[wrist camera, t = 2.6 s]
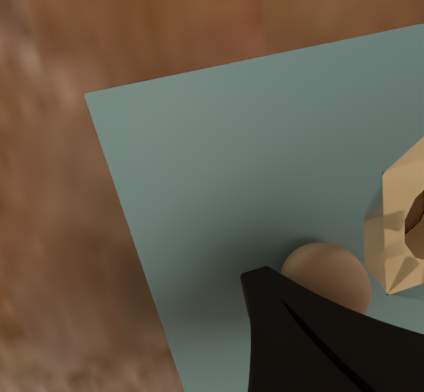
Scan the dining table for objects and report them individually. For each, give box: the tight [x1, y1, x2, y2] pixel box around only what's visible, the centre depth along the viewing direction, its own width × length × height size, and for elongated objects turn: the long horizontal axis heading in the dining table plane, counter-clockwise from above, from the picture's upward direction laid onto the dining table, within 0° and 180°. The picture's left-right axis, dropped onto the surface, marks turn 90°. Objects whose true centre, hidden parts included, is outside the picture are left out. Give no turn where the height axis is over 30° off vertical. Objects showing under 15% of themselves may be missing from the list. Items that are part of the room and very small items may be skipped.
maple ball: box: [281, 242, 371, 315], centre depth 9 cm, size 3×3×3 cm
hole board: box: [84, 23, 424, 392], centre depth 12 cm, size 18×16×2 cm
